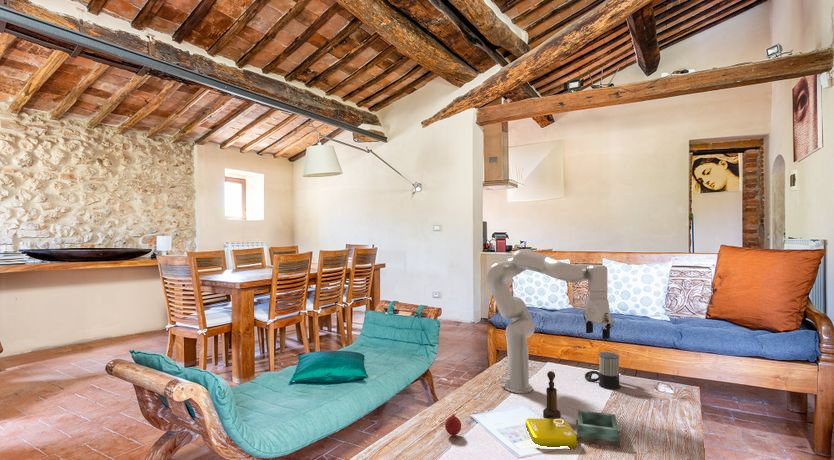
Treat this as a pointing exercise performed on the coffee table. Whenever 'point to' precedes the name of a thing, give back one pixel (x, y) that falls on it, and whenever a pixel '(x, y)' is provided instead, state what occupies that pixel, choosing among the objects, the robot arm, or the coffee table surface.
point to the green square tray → (597, 428)
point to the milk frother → (607, 371)
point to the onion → (453, 425)
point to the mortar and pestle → (551, 400)
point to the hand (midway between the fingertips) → (597, 335)
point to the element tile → (551, 432)
